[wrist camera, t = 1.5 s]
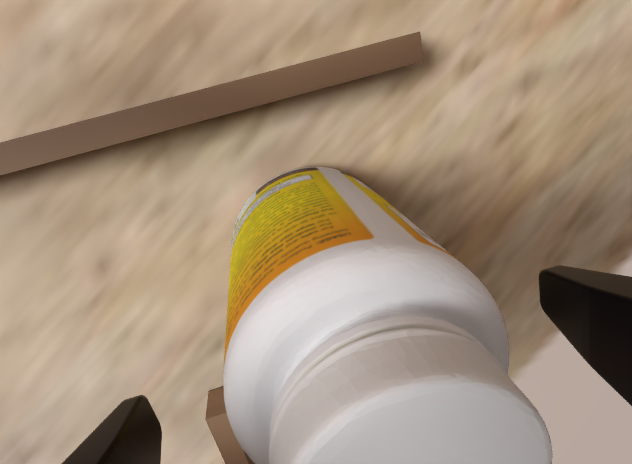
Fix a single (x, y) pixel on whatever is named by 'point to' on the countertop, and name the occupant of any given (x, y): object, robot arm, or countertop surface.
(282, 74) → the walnut track
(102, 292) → the countertop surface
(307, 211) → the supplement bottle
